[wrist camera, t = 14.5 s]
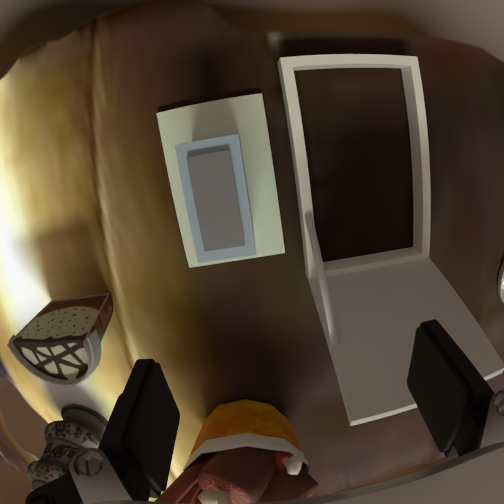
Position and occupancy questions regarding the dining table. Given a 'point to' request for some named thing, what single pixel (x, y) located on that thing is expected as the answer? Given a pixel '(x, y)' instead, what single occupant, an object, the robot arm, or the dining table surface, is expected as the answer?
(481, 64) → the dining table surface
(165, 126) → the mat
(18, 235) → the dining table surface
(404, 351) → the case
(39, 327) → the food container
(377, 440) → the dining table surface
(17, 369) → the dining table surface
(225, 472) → the bucket of meat
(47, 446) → the apothecary jar
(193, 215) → the box
